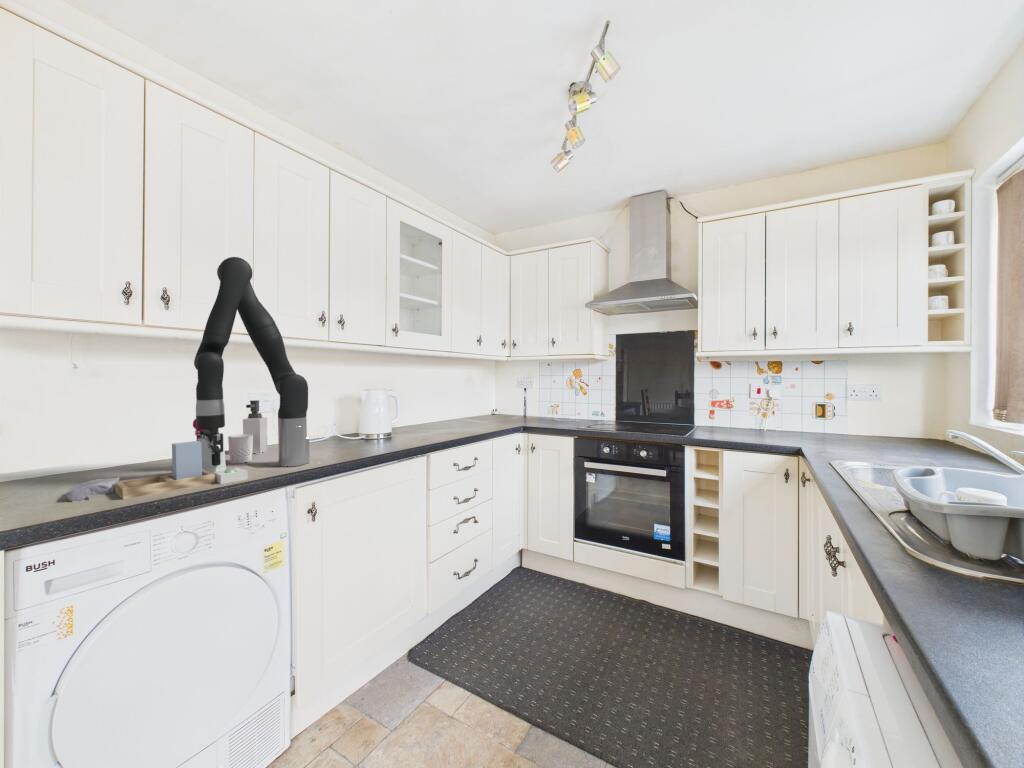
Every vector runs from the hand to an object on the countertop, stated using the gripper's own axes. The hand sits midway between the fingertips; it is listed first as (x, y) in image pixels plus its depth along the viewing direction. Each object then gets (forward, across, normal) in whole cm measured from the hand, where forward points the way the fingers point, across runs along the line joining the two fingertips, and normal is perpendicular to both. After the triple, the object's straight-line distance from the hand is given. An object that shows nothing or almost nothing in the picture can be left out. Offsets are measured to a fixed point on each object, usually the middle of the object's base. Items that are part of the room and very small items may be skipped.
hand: (212, 463), depth 133 cm
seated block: (+3, -10, +9) cm, 14 cm away
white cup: (+4, +16, -14) cm, 22 cm away
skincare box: (+4, 0, 0) cm, 4 cm away
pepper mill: (+4, +14, -2) cm, 15 cm away
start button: (+2, -15, 0) cm, 15 cm away
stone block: (+4, +2, +27) cm, 28 cm away
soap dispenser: (+4, +31, -24) cm, 39 cm away
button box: (+4, -15, 0) cm, 15 cm away
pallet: (+4, -10, +14) cm, 17 cm away
